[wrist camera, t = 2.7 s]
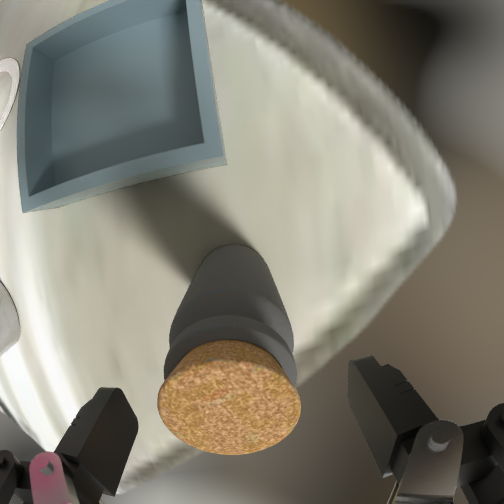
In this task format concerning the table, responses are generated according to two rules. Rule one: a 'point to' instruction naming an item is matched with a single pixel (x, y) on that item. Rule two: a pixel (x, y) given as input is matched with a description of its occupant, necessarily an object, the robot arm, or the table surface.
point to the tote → (116, 102)
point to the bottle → (230, 359)
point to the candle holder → (13, 69)
